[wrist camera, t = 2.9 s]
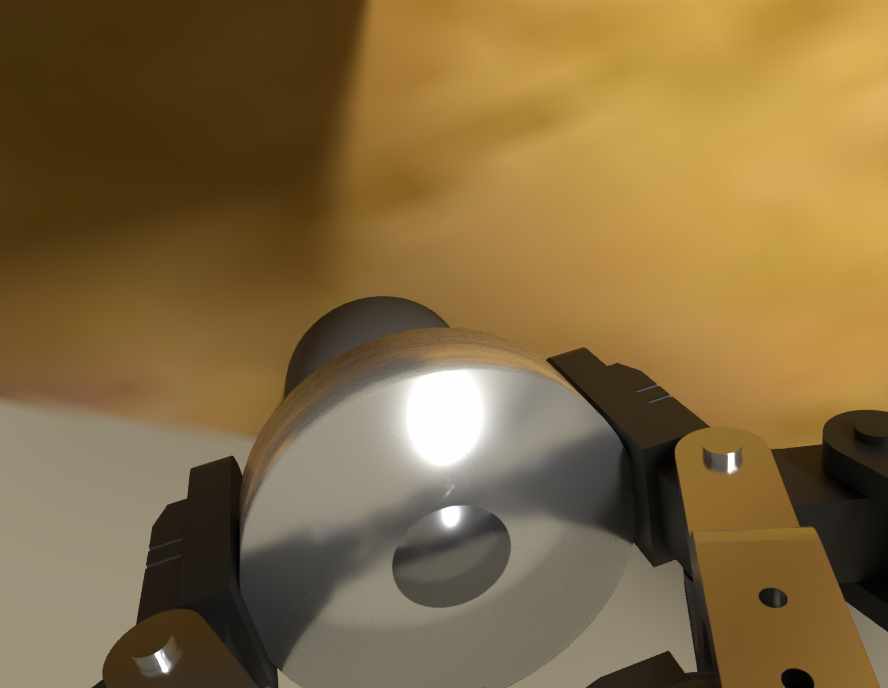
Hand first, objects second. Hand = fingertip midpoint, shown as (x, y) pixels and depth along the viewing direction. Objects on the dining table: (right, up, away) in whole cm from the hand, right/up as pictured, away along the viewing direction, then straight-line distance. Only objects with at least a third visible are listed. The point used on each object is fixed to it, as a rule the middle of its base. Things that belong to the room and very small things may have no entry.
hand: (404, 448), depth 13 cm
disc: (0, -1, -1) cm, 2 cm away
